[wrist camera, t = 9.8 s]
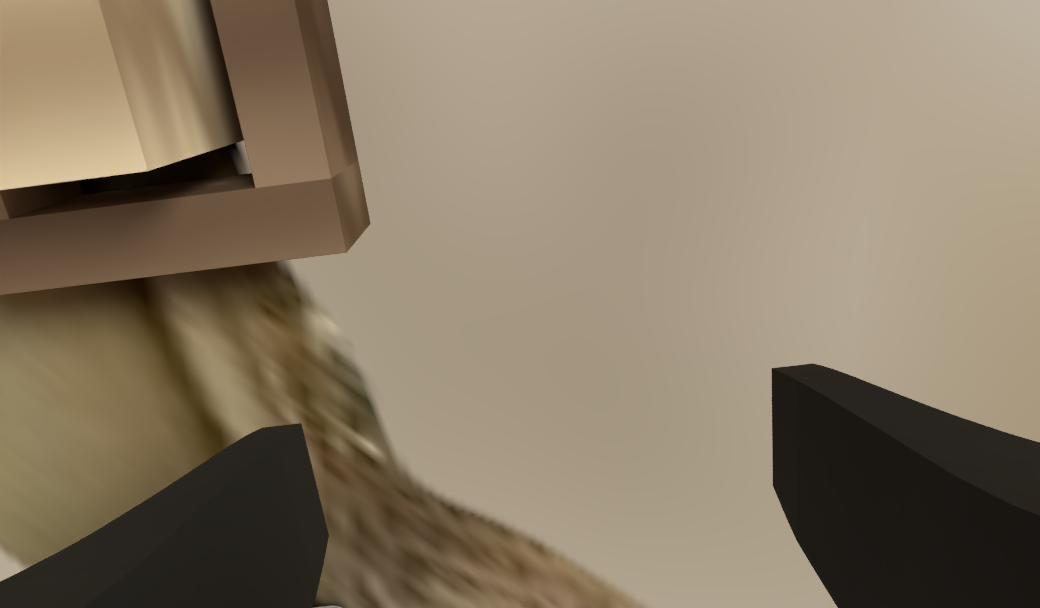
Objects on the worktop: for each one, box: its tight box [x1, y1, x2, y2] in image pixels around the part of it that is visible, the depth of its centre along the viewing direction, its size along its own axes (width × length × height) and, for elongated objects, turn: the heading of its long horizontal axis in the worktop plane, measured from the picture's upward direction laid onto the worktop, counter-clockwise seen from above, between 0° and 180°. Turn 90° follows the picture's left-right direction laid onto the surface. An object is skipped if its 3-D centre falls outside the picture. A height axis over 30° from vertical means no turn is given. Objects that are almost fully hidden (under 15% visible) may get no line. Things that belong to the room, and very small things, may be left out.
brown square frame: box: [0, 0, 370, 295], centre depth 17 cm, size 9×9×3 cm
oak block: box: [0, 0, 244, 190], centre depth 15 cm, size 4×4×6 cm
